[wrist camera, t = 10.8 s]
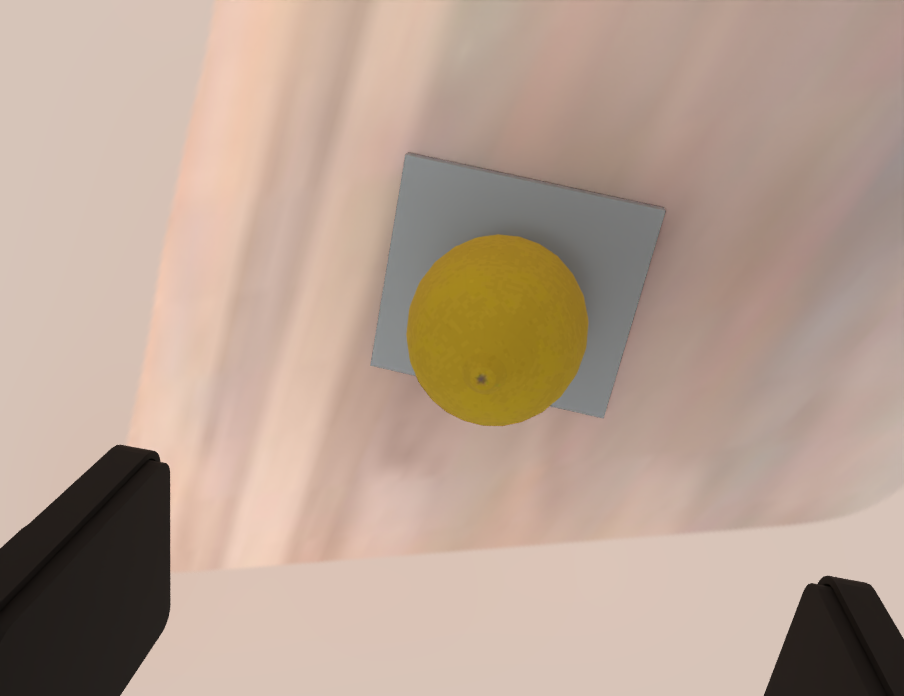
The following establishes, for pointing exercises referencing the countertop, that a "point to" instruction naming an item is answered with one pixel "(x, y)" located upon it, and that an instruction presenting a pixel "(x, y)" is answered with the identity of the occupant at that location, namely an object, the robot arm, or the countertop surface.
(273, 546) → the countertop surface
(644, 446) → the countertop surface
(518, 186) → the mat
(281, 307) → the countertop surface
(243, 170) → the countertop surface
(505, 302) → the lemon
